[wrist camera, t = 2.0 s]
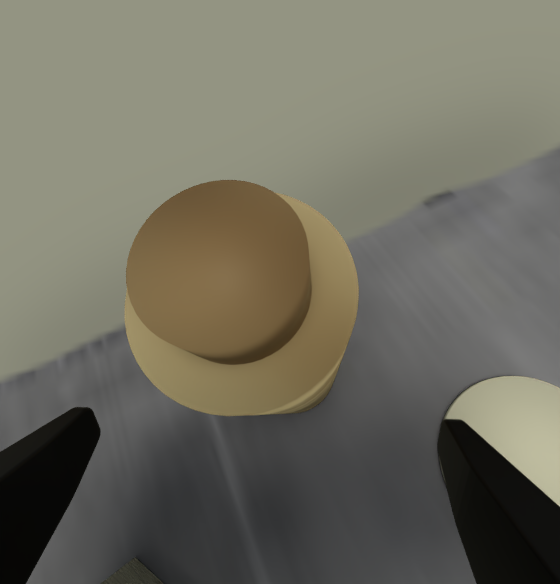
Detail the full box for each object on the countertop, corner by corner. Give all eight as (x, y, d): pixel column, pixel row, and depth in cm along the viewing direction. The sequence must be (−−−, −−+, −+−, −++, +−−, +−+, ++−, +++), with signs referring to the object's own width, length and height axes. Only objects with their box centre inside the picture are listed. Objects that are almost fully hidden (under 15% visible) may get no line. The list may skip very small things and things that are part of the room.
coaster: (592, 607, 14) (599, 613, 14) (411, 489, 16) (413, 491, 16) (643, 433, 16) (651, 433, 15) (474, 348, 18) (478, 347, 18)
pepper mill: (307, 431, 18) (258, 495, 4) (234, 383, 19) (15, 311, 5) (350, 353, 19) (422, 200, 5) (278, 312, 20) (187, 107, 7)
